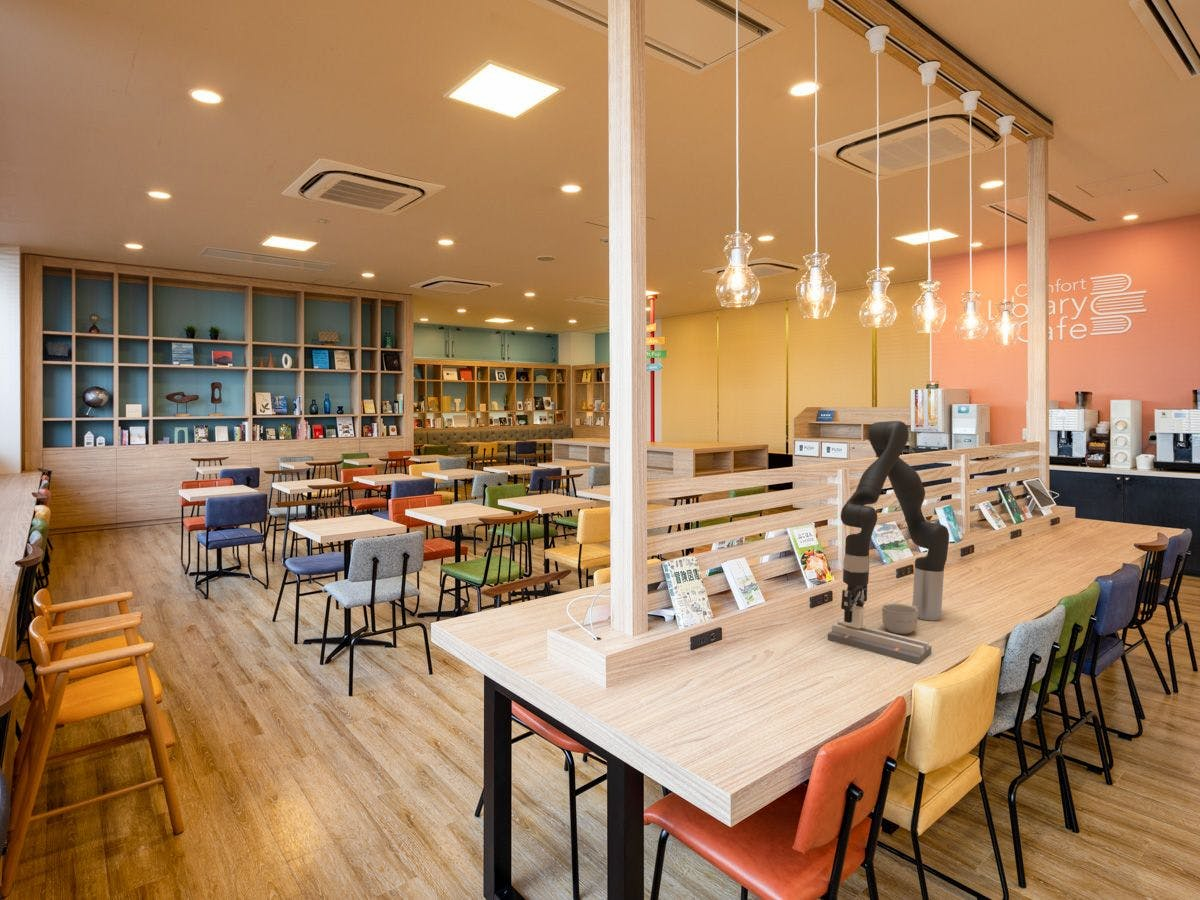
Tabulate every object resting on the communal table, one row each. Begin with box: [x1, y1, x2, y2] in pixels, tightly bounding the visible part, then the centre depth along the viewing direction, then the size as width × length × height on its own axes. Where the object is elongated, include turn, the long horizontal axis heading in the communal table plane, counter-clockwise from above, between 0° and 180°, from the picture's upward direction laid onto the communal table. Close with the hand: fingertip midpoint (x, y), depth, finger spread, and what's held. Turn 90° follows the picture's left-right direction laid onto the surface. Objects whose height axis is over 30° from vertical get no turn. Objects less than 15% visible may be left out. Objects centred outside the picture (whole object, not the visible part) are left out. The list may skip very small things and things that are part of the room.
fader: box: [843, 605, 865, 630], centre depth 212 cm, size 3×5×8 cm, turn 47°
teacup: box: [881, 603, 919, 635], centre depth 221 cm, size 14×11×8 cm
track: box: [827, 620, 932, 665], centre depth 207 cm, size 12×27×4 cm, turn 47°
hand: (853, 618), depth 212 cm, fingers open, 8 cm apart
